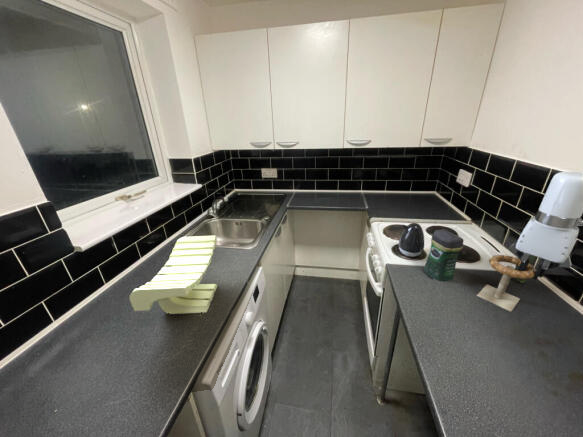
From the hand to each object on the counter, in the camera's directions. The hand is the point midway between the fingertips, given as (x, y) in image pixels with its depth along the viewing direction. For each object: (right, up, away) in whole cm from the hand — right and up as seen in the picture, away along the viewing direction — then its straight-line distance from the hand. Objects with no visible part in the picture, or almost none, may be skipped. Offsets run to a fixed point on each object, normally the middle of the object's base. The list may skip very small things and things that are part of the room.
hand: (528, 274), depth 68 cm
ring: (-2, +2, +3) cm, 4 cm away
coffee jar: (-14, -6, +21) cm, 26 cm away
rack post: (-2, -11, +9) cm, 14 cm away
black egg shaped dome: (-18, +1, +36) cm, 40 cm away
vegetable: (+13, -7, +17) cm, 22 cm away
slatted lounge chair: (-108, -13, +15) cm, 110 cm away
